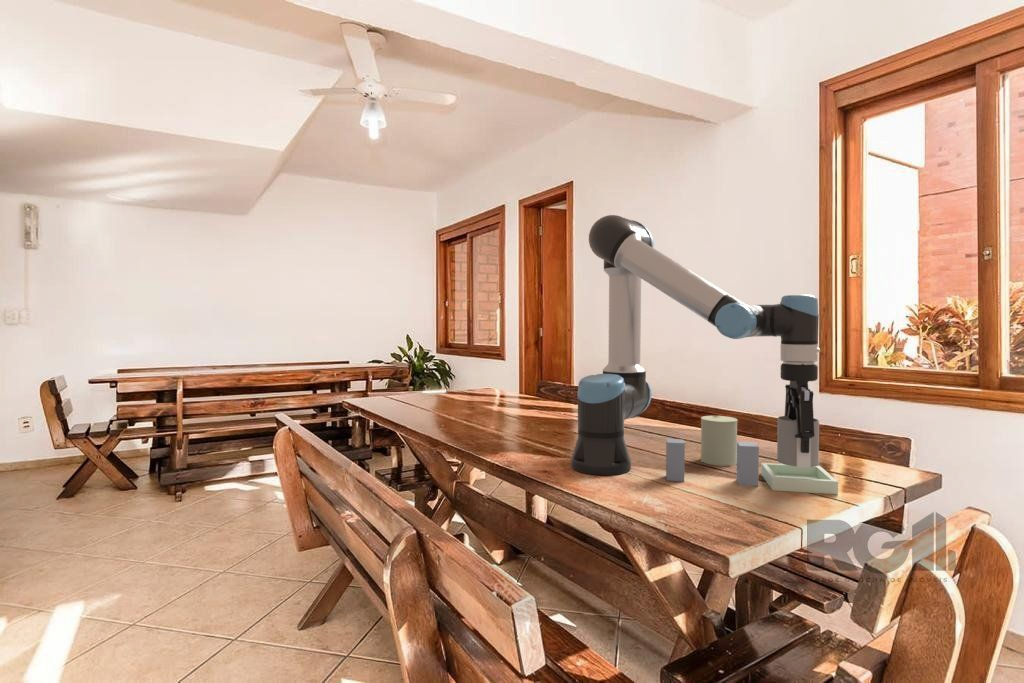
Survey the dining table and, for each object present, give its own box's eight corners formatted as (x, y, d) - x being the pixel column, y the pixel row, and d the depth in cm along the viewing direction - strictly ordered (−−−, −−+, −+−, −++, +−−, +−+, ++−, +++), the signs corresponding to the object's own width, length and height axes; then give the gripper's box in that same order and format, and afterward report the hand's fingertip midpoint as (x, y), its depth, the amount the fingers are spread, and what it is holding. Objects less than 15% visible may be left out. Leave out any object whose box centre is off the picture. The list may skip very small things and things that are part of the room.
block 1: (666, 480, 130) (666, 442, 130) (666, 475, 134) (666, 438, 134) (684, 481, 129) (684, 443, 129) (683, 476, 133) (683, 439, 133)
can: (731, 457, 151) (731, 413, 151) (742, 466, 142) (742, 420, 142) (696, 456, 152) (697, 413, 152) (705, 465, 143) (705, 419, 143)
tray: (772, 490, 122) (772, 477, 122) (760, 474, 135) (761, 462, 135) (837, 494, 119) (838, 481, 119) (819, 477, 132) (819, 465, 132)
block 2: (739, 484, 126) (739, 445, 126) (736, 480, 130) (737, 442, 130) (758, 486, 125) (758, 446, 125) (754, 481, 129) (755, 442, 129)
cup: (817, 460, 129) (817, 417, 128) (820, 468, 121) (820, 423, 121) (776, 456, 132) (777, 414, 132) (777, 464, 125) (777, 420, 124)
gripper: (832, 366, 115) (831, 475, 116) (804, 359, 135) (803, 451, 136) (792, 366, 117) (791, 473, 117) (771, 359, 137) (770, 450, 138)
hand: (797, 461), depth 127 cm, fingers closed on cup, 8 cm apart
